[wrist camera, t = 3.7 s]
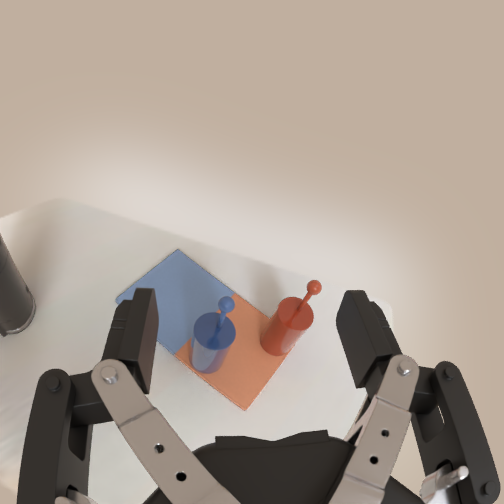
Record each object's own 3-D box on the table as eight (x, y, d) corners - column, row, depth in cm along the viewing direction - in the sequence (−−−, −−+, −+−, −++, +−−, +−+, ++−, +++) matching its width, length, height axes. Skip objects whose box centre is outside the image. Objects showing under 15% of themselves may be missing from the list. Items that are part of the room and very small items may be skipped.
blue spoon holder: (209, 380, 46) (227, 336, 33) (181, 358, 47) (188, 305, 35) (230, 356, 49) (256, 304, 37) (203, 334, 51) (219, 276, 38)
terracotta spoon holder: (280, 362, 51) (322, 314, 38) (253, 342, 52) (285, 288, 39) (296, 339, 54) (339, 286, 42) (271, 320, 55) (306, 262, 43)
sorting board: (244, 411, 45) (246, 410, 44) (115, 301, 51) (115, 299, 50) (296, 341, 55) (298, 339, 54) (177, 251, 61) (177, 248, 61)
